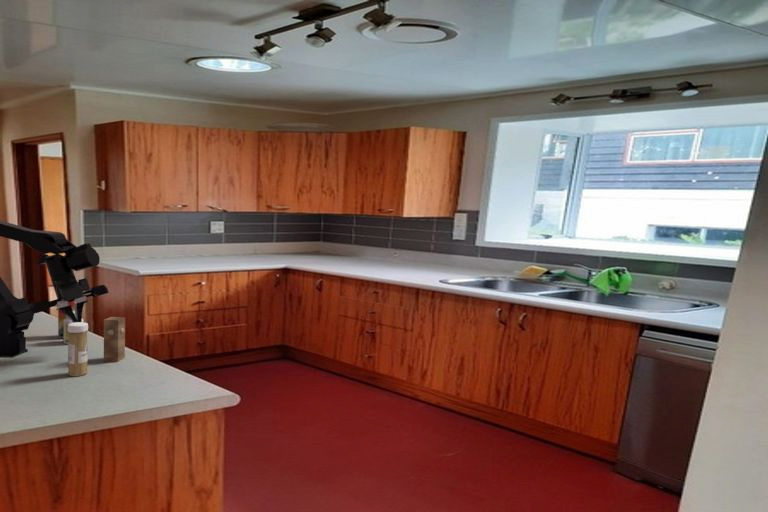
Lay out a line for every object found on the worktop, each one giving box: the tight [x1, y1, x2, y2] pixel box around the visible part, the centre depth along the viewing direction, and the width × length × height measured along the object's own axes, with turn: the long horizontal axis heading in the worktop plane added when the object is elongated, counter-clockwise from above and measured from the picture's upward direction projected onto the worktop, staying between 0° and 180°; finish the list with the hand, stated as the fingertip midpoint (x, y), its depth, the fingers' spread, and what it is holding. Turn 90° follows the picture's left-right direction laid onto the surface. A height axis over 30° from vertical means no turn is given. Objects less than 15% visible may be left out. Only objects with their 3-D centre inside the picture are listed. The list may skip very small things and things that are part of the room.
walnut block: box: [103, 316, 126, 363], centre depth 143 cm, size 4×4×12 cm
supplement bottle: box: [62, 311, 84, 345], centre depth 157 cm, size 5×5×10 cm
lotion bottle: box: [57, 299, 75, 339], centre depth 162 cm, size 6×6×20 cm
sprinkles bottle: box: [67, 322, 89, 377], centre depth 130 cm, size 5×5×14 cm
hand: (79, 327), depth 142 cm, fingers closed
